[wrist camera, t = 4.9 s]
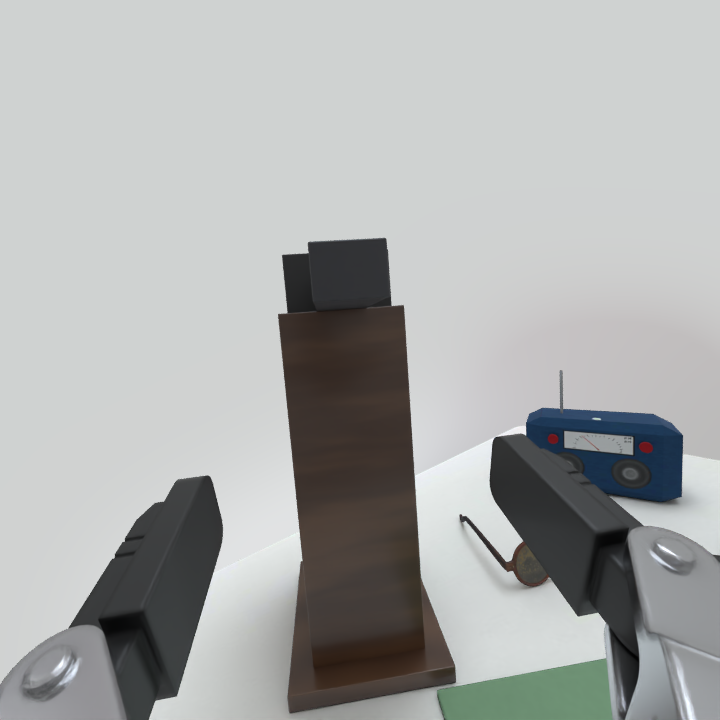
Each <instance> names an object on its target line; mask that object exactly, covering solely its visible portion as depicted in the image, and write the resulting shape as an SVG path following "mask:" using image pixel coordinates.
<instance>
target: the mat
mask: <svg viewBox="0 0 720 720" xmlns="http://www.w3.org/2000/svg"><path fill="white" fill-rule="evenodd" d="M437 695H438V699H439V702H440V705H441V708H442V712H443V715H444V718H445V720H613V719H612V709H611V699H610V689H609V679H608V669H607V659H601V660H595V661H590V662H585V663H579V664H574V665H569V666H563V667H558V668H553V669H547V670H542V671H537V672H531V673H526V674H521V675H515V676H510V677H505V678H499V679H494V680H489V681H483V682H478V683H473V684H467V685H462V686H457V687H451V688H446V689H441V690H437Z"/></svg>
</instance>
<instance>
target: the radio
mask: <svg viewBox="0 0 720 720" xmlns="http://www.w3.org/2000/svg"><path fill="white" fill-rule="evenodd" d="M562 379H563V376H562V370H560V409H554V408H541V409H539V410H537V411H535V412H532V413H530V414H529V416H528V419H527V422H526V436H527V437H528V438H529V439H530V440H531V441H532V442H533V443H534V444H536V445H537V446H538V447H539V448H540V449H543V448H544V449H546V450H548V451H550V452H552V453H554V454H556V455H558V456H560V457H562V458H564V459H565V460H566V461H567V462H568V463H570V464H571V465H572V466H573V467H574V468H576V469H577V470H578V472H579V473H582V474H583V475H584V476H585V477H586V478H587V479H589V480H590V481H591V484H595V485H596V486H597V487H598V488H599V489H601V490H602V491H603V492H604V493H607V494H613V495H620V496H626V497H632V498H639V499H645V500H652V501H658V502H663V501H667V500H671V499H674V498H678V497H682V456H683V435H682V434H681V433H680V432H679V431H678V430H677V429H676V428H675V426H674V425H673V424H672V423H670V422H668V421H666V420H664V419H662V418H660V417H658V416H656V415H654V414H645V413H627V412H609V411H590V410H571V409H563V380H562Z"/></svg>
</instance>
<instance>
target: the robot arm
mask: <svg viewBox="0 0 720 720" xmlns="http://www.w3.org/2000/svg"><path fill="white" fill-rule="evenodd" d="M490 488H491V492H492V495H493V498H494V500H495V502H496V503H497V505H498V506H499V508H500V509H501V510H502V512H503V513H504V515H505V516H506V517H507V519H508V520H509V522H510V523H511V524H512V526H513V527H514V528H515V530H516V531H517V533H518V534H519V535H520V537H521V538H522V540H523V541H524V542H525V544H526V545H527V546H528V548H529V549H530V551H531V552H532V553H533V555H534V556H535V558H536V559H537V560H538V562H539V563H540V564H541V566H542V567H543V569H544V570H545V571H546V573H547V574H548V576H549V577H550V578H551V580H552V581H553V582H554V584H555V585H556V587H557V588H558V589H559V591H560V592H561V594H562V595H563V596H564V598H565V599H566V600H567V602H568V603H569V605H570V606H571V607H572V609H573V610H574V612H575V613H576V614H577V616H583V615H588V614H593V613H599V614H600V615H601V617H602V618H603V619H604V621H605V622H606V624H605V628H604V639H605V649H606V659H607V669H608V679H609V689H610V699H611V709H612V719H613V720H720V556H719V555H712V554H711V553H710V552H708V551H707V550H706V549H705V548H703V547H702V546H700V545H699V544H697V543H696V542H694V541H692V540H691V539H689V538H687V537H685V536H683V535H681V534H678V533H676V532H673V531H670V530H667V529H664V528H659V527H653V526H643V525H642V524H641V523H640V522H639V521H637V520H636V519H635V518H634V517H633V516H631V515H630V514H629V513H628V512H627V511H625V510H624V509H623V508H622V507H621V506H620V505H618V504H617V503H616V502H615V501H614V500H612V499H611V498H610V497H609V496H608V495H606V494H605V493H604V492H603V491H602V490H601V489H599V488H598V487H597V486H596V485H595V484H591V481H590V480H589V479H587V478H586V477H585V476H584V475H583V474H582V473H579V472H578V470H577V469H576V468H574V467H573V466H572V465H571V464H570V463H568V462H567V461H566V460H565V459H564V458H562V457H560V456H558V455H556V454H554V453H552V452H550V451H548V450H546V449H544V448H543V449H540V448H539V447H538V446H537V445H536V444H534V443H533V442H532V441H531V440H530V439H529V438H528V437H527V436H525V435H524V434H514V435H507V436H500V437H495V438H494V440H493V444H492V457H491V470H490ZM222 537H223V525H222V519H221V514H220V511H219V506H218V502H217V498H216V494H215V490H214V487H213V482H212V480H211V478H210V476H200V477H193V478H186V479H179V480H177V481H176V482H175V483H174V485H173V487H172V489H171V490H170V492H169V494H168V496H167V498H166V499H165V501H164V502H158V503H155V504H154V505H152V506H151V507H150V508H149V509H148V510H147V511H146V512H145V513H144V514H143V515H141V516H140V517H139V518H138V519H137V520H136V522H135V523H134V525H133V527H132V528H131V530H130V532H129V533H128V535H127V536H126V538H125V542H122V544H121V546H120V547H119V549H118V550H117V552H116V554H115V558H114V559H112V560H111V561H110V563H109V565H108V566H107V568H106V569H105V571H104V573H103V574H102V576H101V577H100V579H99V581H98V582H97V584H96V585H95V587H94V589H93V590H92V592H91V593H90V595H89V597H88V598H87V600H86V601H85V603H84V604H83V606H82V608H81V609H80V611H79V612H78V614H77V615H76V617H75V619H74V620H73V622H72V623H71V625H70V626H69V628H68V629H66V630H64V631H62V632H60V633H57V634H56V635H54V636H52V637H50V638H49V639H47V640H45V641H44V642H43V643H41V644H40V645H38V646H37V647H36V648H34V649H33V650H32V651H31V652H29V653H28V654H27V655H26V656H25V657H24V658H23V659H21V660H20V661H19V662H18V663H17V665H16V666H15V667H14V668H13V669H12V670H11V671H10V672H9V674H8V675H7V676H6V677H5V678H4V680H3V681H2V683H1V684H0V720H149V717H150V714H151V711H152V708H153V705H154V702H155V701H156V700H161V699H166V698H171V697H175V696H177V694H178V691H179V687H180V684H181V680H182V677H183V674H184V670H185V667H186V663H187V660H188V657H189V653H190V650H191V646H192V643H193V640H194V636H195V633H196V630H197V626H198V623H199V619H200V616H201V613H202V609H203V606H204V602H205V599H206V596H207V592H208V589H209V585H210V582H211V579H212V575H213V572H214V568H215V565H216V562H217V558H218V555H219V551H220V548H221V544H222Z"/></svg>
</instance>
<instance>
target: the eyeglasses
mask: <svg viewBox="0 0 720 720" xmlns="http://www.w3.org/2000/svg"><path fill="white" fill-rule="evenodd" d="M460 519H461V522H464V521H466V522H467V523H468V524H469V525H470V526H471V527H472V529H473V530H474V531H475V532H476V534H477V535H478V536H479V538H480V539H481V540H482V541H483V543H484V544H485V545H486V547H487V548H488V549H489V550H490V552H491V553H492V554H493V556H494V557H495V558H496V559H497V561H498V562H499V563H500V564H501V566H502V567H503V568H504V569H505V570H506V571H507V572H509V571H514V573H515V575H516V577H517V579H518V580H519V581H520V582H521V583H523V584H524V585H527V586H537V585H540V584H542V583H543V582H545V581H546V580H547V579H548V577H549V576H548V574H547V573H546V571H545V570H544V569H543V567H542V566H541V564H540V563H539V562H538V560H537V559H536V558H535V556H534V555H533V553H532V552H531V551H530V549H529V548H528V546H527V545H526V544H525V542H524V541H523V542H522V543H521V544H519V546H518V547H517V548H516V550H515V552H514V554H513V558H512V560H511V561H509V562H506V561H505V560H504V559H503V558H502V557H501V555H500V554H499V553H498V552H497V551H496V549H495V548H494V547H493V546H492V545H491V544H490V542H489V541H488V540H487V539H486V538H485V537H484V535H483V534H482V533H481V532H480V531H479V530H478V528H477V527H476V526H475V525H474V524H473V523H472V522H471V520H470V519H469V518H468V517H466V516H462V514H460Z"/></svg>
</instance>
